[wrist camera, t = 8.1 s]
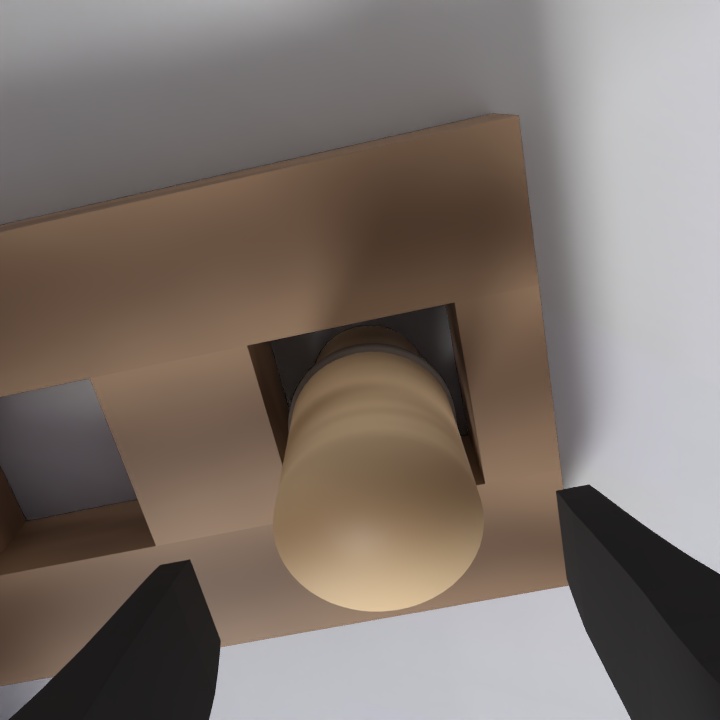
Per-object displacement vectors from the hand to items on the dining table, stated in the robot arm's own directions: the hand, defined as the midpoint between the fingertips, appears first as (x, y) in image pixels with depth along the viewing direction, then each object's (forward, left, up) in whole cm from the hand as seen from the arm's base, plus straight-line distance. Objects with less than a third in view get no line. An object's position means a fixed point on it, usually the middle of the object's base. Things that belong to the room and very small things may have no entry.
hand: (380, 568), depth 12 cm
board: (0, +5, -9) cm, 11 cm away
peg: (0, 0, -9) cm, 9 cm away
